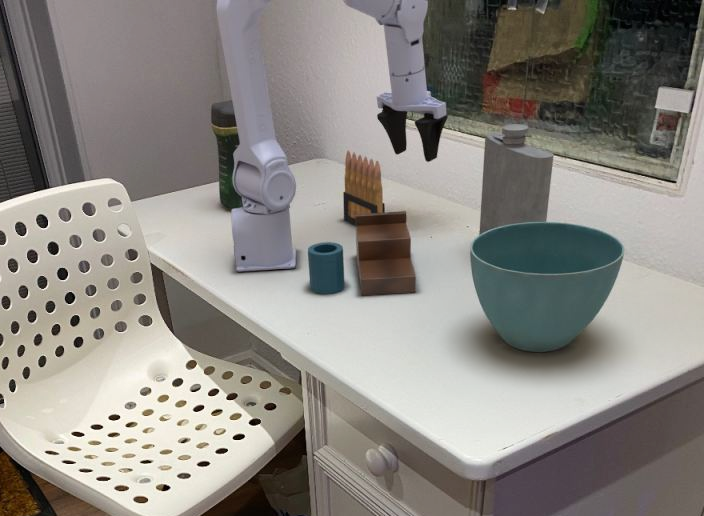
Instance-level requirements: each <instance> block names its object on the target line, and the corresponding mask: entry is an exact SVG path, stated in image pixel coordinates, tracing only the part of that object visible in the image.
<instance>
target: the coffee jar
mask: <svg viewBox="0 0 704 516" xmlns="http://www.w3.org/2000/svg"><path fill="white" fill-rule="evenodd" d="M210 126H211V130H212V132H213V134H214V136H215V137H216V138H215V139H216V145H217V156H218V190H219V191H218V192H219V202H220V204H221V205H222V206H223V208H224V209H227V210H232V209H234V208H241V207H243V203H242V196H240V195H239V194H238V193H237V192H236V190H235V188H234V186H233V179H232V177H233V171H234V164H235V163H234V156H233V153H234V152H235V150H236V149H237V148H238V146H239V145H240V140H239V135H238V129H237V124H236V118H235V113H234V107H233V101H232V99H230V100H225V101H220V102H214V103H212V104H211V108H210Z"/></svg>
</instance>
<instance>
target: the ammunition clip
mask: <svg viewBox="0 0 704 516" xmlns="http://www.w3.org/2000/svg"><path fill="white" fill-rule="evenodd" d="M344 165H345V166H344V191H343V193H342V194H343V196H342V197H343V199H342V200H343V221H344V222H346V223H348V224H350V225H352V226H355V227H356V219H355V214H369V213H385V209H386V207H385V206H386V205H385V203H384V202H383V198H384V197H383V191H384V190H383V183H382V171H381V165H380V162H379V160H376V162H375V163H374V160H373V158H370V160H368V158H367V156H364V158H362V155H361V154H359V155H358V157H357V154H356V152H353V153H352V155H351V152H350V150H349V149H348V150H347V151H346V155H345V164H344Z"/></svg>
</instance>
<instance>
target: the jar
mask: <svg viewBox="0 0 704 516" xmlns="http://www.w3.org/2000/svg"><path fill="white" fill-rule="evenodd" d="M307 258H308V259H307V261H308V274H309V275H308V276H309V287H310V290H311V292H313V293H315V294H320V295H330V294H331V295H332V294H335V293H339V292H341V291H342V290H344V289H345V265H344V264H345V263H344V247H343V245H342V244H340V243H337V242H332V241H331V242H330V241H326V242H323V241H322V242H318V243H314V244H311V245H310V246H308V248H307Z"/></svg>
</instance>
